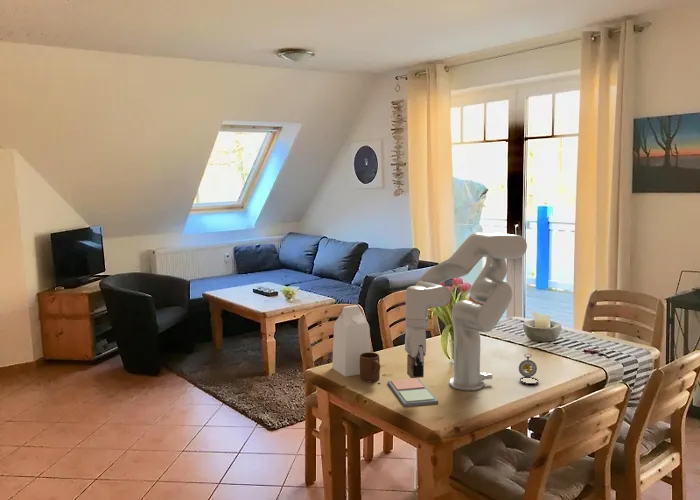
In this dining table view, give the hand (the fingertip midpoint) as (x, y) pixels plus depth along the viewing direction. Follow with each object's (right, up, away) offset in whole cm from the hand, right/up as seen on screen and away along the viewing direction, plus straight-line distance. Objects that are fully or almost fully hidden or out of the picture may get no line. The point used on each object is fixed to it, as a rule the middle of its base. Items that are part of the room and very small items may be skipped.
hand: (415, 373), depth 204 cm
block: (0, -1, 0) cm, 1 cm away
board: (-1, -9, +7) cm, 11 cm away
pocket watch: (+44, -7, +17) cm, 48 cm away
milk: (-22, -6, +32) cm, 39 cm away
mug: (-14, -7, +19) cm, 25 cm away
